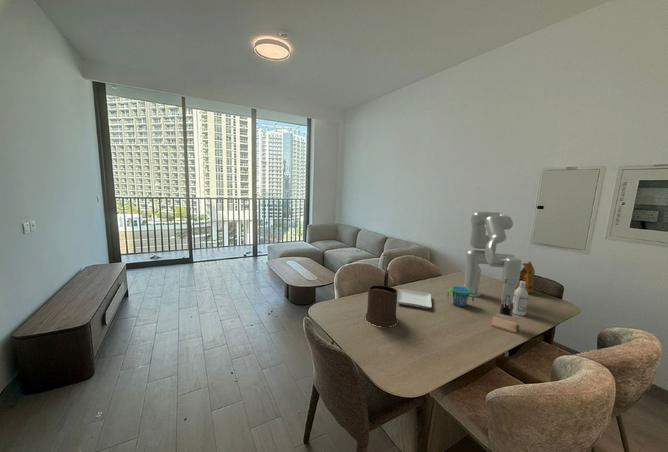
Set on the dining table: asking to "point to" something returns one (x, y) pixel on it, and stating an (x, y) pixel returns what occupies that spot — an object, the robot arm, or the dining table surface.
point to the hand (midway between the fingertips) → (506, 312)
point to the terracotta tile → (504, 324)
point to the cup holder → (382, 304)
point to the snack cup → (460, 295)
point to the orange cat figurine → (527, 276)
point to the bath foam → (520, 299)
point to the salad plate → (414, 298)
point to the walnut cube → (510, 308)
